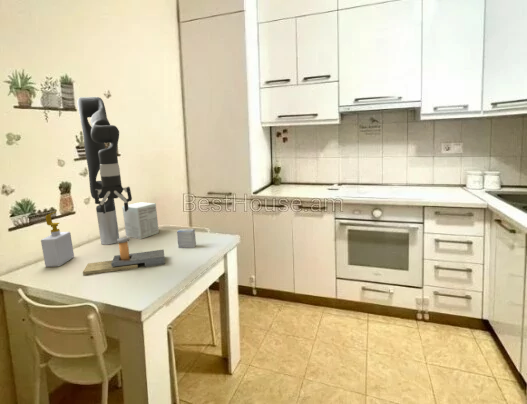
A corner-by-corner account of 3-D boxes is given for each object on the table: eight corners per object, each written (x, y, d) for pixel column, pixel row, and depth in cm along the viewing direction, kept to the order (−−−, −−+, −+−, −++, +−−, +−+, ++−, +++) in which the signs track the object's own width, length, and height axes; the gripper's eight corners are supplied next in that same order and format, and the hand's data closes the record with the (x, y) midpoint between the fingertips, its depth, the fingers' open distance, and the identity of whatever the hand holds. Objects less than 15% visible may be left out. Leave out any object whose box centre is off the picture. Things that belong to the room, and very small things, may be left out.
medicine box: (196, 245, 174) (195, 228, 172) (193, 248, 169) (192, 231, 168) (181, 245, 174) (179, 228, 173) (178, 248, 170) (176, 231, 168)
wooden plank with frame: (83, 275, 141) (82, 267, 140) (88, 266, 150) (87, 259, 150) (164, 264, 149) (163, 256, 148) (164, 256, 159) (163, 249, 158)
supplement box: (159, 232, 199) (156, 203, 196) (140, 239, 188) (137, 207, 185) (144, 230, 206) (141, 201, 203) (125, 236, 195) (121, 206, 192)
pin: (121, 264, 151) (117, 238, 149) (132, 263, 152) (128, 236, 150) (119, 268, 147) (116, 241, 144) (131, 266, 148) (127, 239, 146)
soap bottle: (59, 266, 152) (50, 215, 147) (44, 267, 152) (35, 215, 148) (74, 257, 164) (67, 208, 159) (61, 257, 164) (53, 209, 159)
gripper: (129, 172, 149) (133, 208, 153) (93, 174, 145) (98, 212, 149) (127, 174, 142) (132, 212, 146) (90, 176, 138) (95, 216, 142)
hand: (115, 212), depth 147 cm, fingers open, 8 cm apart
